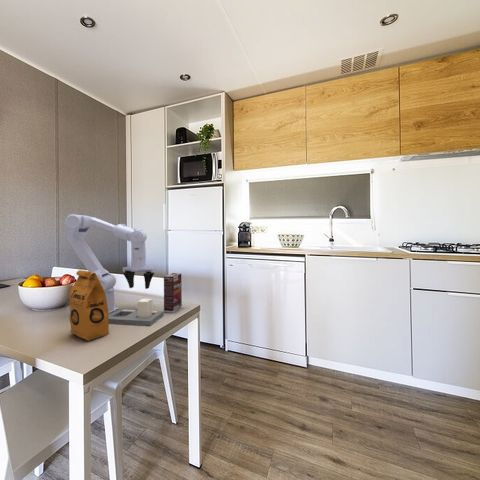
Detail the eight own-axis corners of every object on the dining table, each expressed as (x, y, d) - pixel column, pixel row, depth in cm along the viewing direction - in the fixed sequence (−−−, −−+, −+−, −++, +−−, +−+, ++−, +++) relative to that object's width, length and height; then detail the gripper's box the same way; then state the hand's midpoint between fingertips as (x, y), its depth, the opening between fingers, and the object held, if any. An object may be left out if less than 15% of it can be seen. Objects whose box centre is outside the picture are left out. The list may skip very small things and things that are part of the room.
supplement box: (173, 313, 104) (173, 276, 103) (163, 312, 105) (162, 276, 104) (182, 306, 112) (182, 273, 111) (172, 306, 113) (172, 272, 112)
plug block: (138, 321, 95) (137, 301, 94) (143, 317, 99) (142, 298, 98) (147, 322, 94) (147, 301, 94) (152, 318, 98) (152, 298, 98)
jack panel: (101, 323, 93) (101, 318, 93) (119, 313, 104) (119, 308, 104) (150, 325, 90) (150, 320, 90) (163, 315, 101) (163, 310, 101)
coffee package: (81, 345, 76) (79, 275, 75) (66, 334, 83) (64, 271, 82) (113, 333, 84) (112, 271, 82) (97, 325, 91) (95, 267, 90)
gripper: (118, 258, 104) (118, 289, 105) (149, 259, 102) (149, 290, 103) (127, 256, 111) (128, 285, 112) (157, 257, 109) (157, 286, 110)
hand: (139, 288), depth 108 cm, fingers open, 7 cm apart
